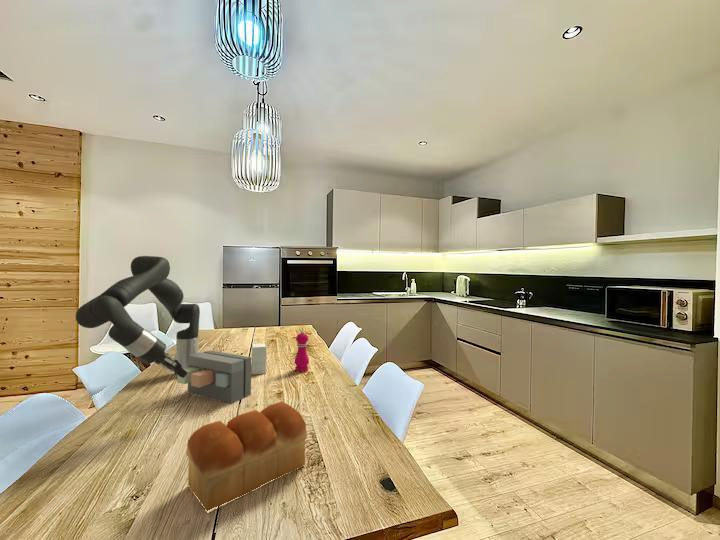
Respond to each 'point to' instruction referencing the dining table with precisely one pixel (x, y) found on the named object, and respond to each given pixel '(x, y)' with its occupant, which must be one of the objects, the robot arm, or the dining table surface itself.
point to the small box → (258, 359)
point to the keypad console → (229, 364)
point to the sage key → (188, 375)
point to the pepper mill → (301, 352)
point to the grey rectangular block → (222, 379)
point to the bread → (245, 453)
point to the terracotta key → (202, 378)
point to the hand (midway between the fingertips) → (184, 375)
